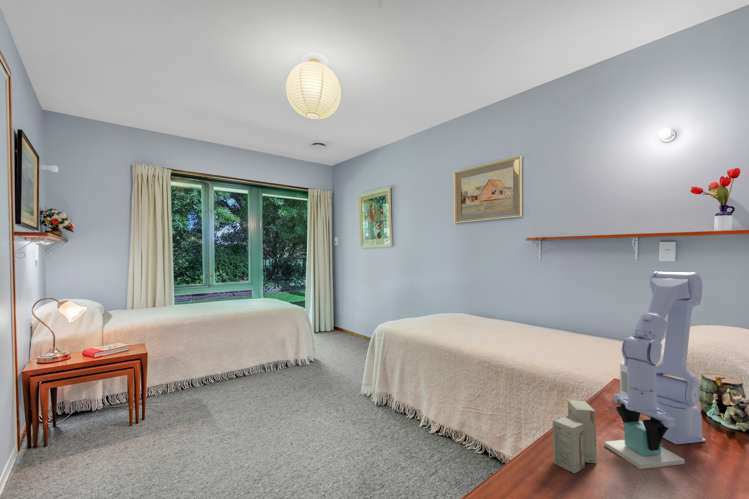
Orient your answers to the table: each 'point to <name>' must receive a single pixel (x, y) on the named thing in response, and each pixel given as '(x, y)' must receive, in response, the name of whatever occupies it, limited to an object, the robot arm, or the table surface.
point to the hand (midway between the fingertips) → (642, 443)
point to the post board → (644, 461)
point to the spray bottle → (623, 379)
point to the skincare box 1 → (568, 444)
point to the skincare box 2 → (585, 427)
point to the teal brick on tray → (638, 438)
